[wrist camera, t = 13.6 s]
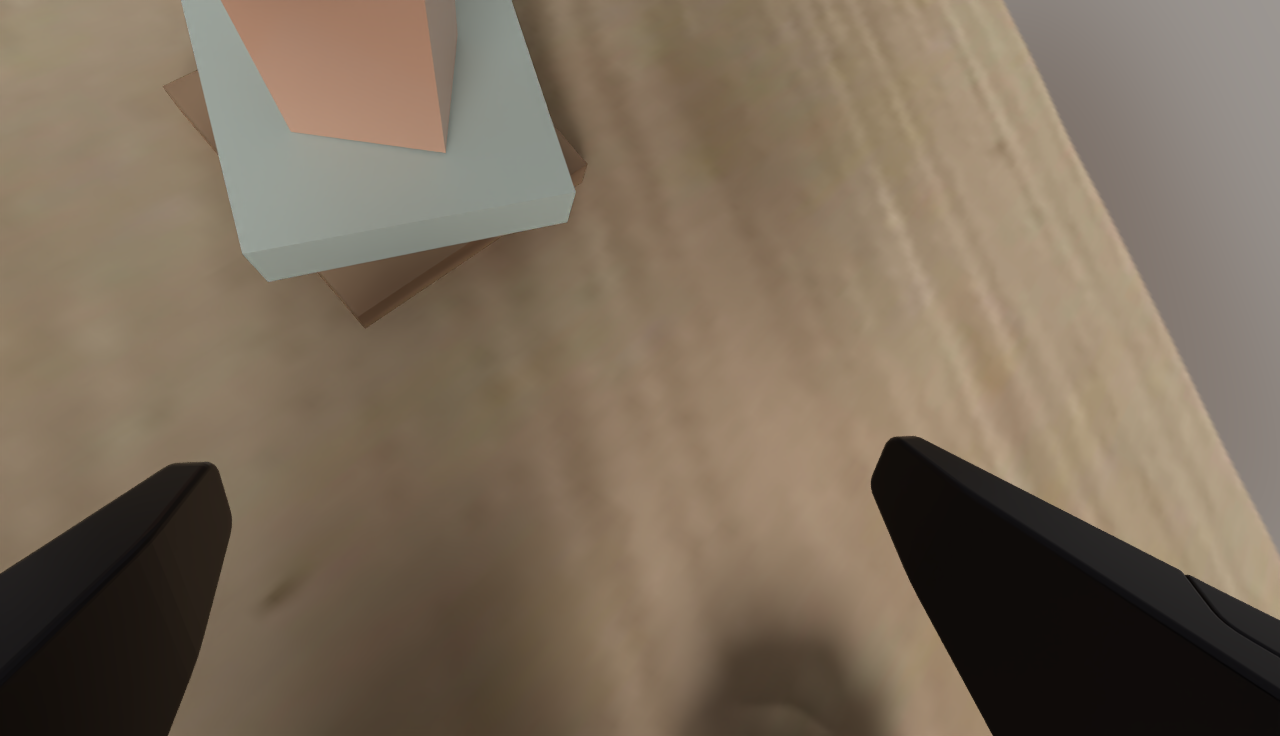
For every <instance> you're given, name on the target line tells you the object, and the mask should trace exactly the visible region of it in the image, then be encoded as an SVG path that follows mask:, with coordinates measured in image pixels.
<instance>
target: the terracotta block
mask: <svg viewBox="0 0 1280 736" xmlns="http://www.w3.org/2000/svg"><path fill="white" fill-rule="evenodd" d="M221 2H222V4H223V5H224V7H225V9H226V11H227V13H228V15H229V17H230V19H231V20H232V22H233V24H234V26H235V28H236V30H237V32H238V34H239V35H240V37H241V39H242V41H243V43H244V45H245V47H246V49H247V50H248V52H249V54H250V56H251V58H252V60H253V62H254V64H255V65H256V67H257V69H258V71H259V73H260V75H261V77H262V79H263V81H264V82H265V84H266V86H267V88H268V90H269V92H270V94H271V96H272V97H273V99H274V101H275V103H276V105H277V107H278V109H279V111H280V112H281V114H282V116H283V118H284V120H285V122H286V124H287V126H288V127H289V129H290V131H291V132H296V133H303V134H310V135H317V136H325V137H332V138H339V139H347V140H354V141H361V142H369V143H376V144H383V145H390V146H398V147H405V148H412V149H420V150H427V151H434V152H442V153H446V145H447V135H448V126H449V116H450V106H451V96H452V86H453V77H454V67H455V57H456V47H457V38H458V31H457V18H456V5H455V0H221Z"/></svg>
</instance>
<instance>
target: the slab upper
mask: <svg viewBox="0 0 1280 736" xmlns="http://www.w3.org/2000/svg"><path fill="white" fill-rule="evenodd" d="M181 2H182V6H183V10H184V14H185V19H186V23H187V27H188V31H189V35H190V39H191V43H192V48H193V52H194V56H195V60H196V64H197V68H198V72H199V76H200V81H201V85H202V89H203V93H204V97H205V101H206V105H207V110H208V114H209V118H210V122H211V126H212V130H213V134H214V139H215V143H216V147H217V151H218V155H219V159H220V163H221V167H222V172H223V176H224V180H225V184H226V188H227V192H228V196H229V201H230V205H231V209H232V213H233V217H234V221H235V225H236V230H237V234H238V238H239V242H240V246H241V250H242V254H243V255H244V256H245V257H246V258H247V260H248V261H249V262H250V263H251V264H252V265H253V266H254V267H255V268H256V269H257V270H258V271H259V273H260V274H261V275H262V276H263V277H264V278H265V279H266V280H267V281H268V282H271V281H276V280H281V279H286V278H291V277H296V276H301V275H306V274H311V273H316V272H321V271H326V270H331V269H336V268H341V267H346V266H351V265H356V264H361V263H366V262H371V261H376V260H381V259H386V258H391V257H396V256H401V255H406V254H411V253H416V252H421V251H426V250H431V249H436V248H441V247H446V246H451V245H456V244H461V243H466V242H471V241H476V240H481V239H486V238H491V237H496V236H501V235H506V234H511V233H516V232H521V231H526V230H531V229H536V228H541V227H546V226H551V225H556V224H561V223H566V222H567V221H568V218H569V214H570V211H571V207H572V204H573V200H574V197H575V193H576V191H575V189H574V186H573V183H572V180H571V177H570V174H569V171H568V168H567V165H566V162H565V159H564V156H563V153H562V150H561V147H560V144H559V141H558V138H557V135H556V132H555V129H554V126H553V123H552V120H551V117H550V114H549V111H548V108H547V105H546V102H545V99H544V96H543V93H542V90H541V87H540V84H539V81H538V78H537V75H536V72H535V69H534V66H533V63H532V60H531V57H530V54H529V51H528V48H527V45H526V42H525V39H524V36H523V33H522V30H521V27H520V24H519V21H518V18H517V15H516V13H515V10H514V7H513V4H512V1H511V0H455V5H456V18H457V31H458V38H457V47H456V57H455V67H454V77H453V86H452V96H451V106H450V116H449V126H448V135H447V145H446V153H442V152H434V151H427V150H420V149H412V148H405V147H398V146H390V145H383V144H376V143H369V142H361V141H354V140H347V139H339V138H332V137H325V136H317V135H310V134H303V133H296V132H291V131H290V129H289V127H288V126H287V124H286V122H285V120H284V118H283V116H282V114H281V112H280V111H279V109H278V107H277V105H276V103H275V101H274V99H273V97H272V96H271V94H270V92H269V90H268V88H267V86H266V84H265V82H264V81H263V79H262V77H261V75H260V73H259V71H258V69H257V67H256V65H255V64H254V62H253V60H252V58H251V56H250V54H249V52H248V50H247V49H246V47H245V45H244V43H243V41H242V39H241V37H240V35H239V34H238V32H237V30H236V28H235V26H234V24H233V22H232V20H231V19H230V17H229V15H228V13H227V11H226V9H225V7H224V5H223V4H222V2H221V0H181Z"/></svg>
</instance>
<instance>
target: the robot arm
mask: <svg viewBox="0 0 1280 736" xmlns="http://www.w3.org/2000/svg"><path fill="white" fill-rule="evenodd" d="M871 490H872V494H873V496H874V499H875V501H876V503H877V506H878V508H879V510H880V513H881V515H882V517H883V520H884V522H885V525H886V527H887V529H888V532H889V534H890V536H891V539H892V541H893V543H894V546H895V548H896V551H897V553H898V555H899V558H900V560H901V562H902V565H903V567H904V569H905V572H906V574H907V576H908V578H909V580H910V582H911V584H912V586H913V588H914V590H915V592H916V594H917V596H918V598H919V600H920V602H921V604H922V605H923V607H924V609H925V611H926V613H927V615H928V617H929V618H930V620H931V622H932V624H933V626H934V628H935V630H936V631H937V633H938V635H939V637H940V639H941V641H942V643H943V644H944V646H945V648H946V650H947V652H948V654H949V655H950V657H951V659H952V661H953V663H954V665H955V667H956V668H957V670H958V672H959V674H960V676H961V678H962V680H963V681H964V683H965V685H966V687H967V689H968V691H969V692H970V694H971V696H972V698H973V700H974V702H975V704H976V705H977V707H978V709H979V711H980V713H981V715H982V717H983V718H984V720H985V722H986V724H987V726H988V728H989V729H990V731H991V733H992V735H993V736H1280V620H1278V619H1276V618H1274V617H1272V616H1270V615H1268V614H1266V613H1264V612H1262V611H1260V610H1258V609H1256V608H1254V607H1252V606H1250V605H1248V604H1246V603H1244V602H1242V601H1240V600H1238V599H1236V598H1234V597H1232V596H1230V595H1228V594H1226V593H1224V592H1222V591H1220V590H1218V589H1216V588H1214V587H1212V586H1210V585H1208V584H1206V583H1204V582H1202V581H1200V580H1198V579H1196V578H1194V577H1193V576H1190V575H1184V574H1183V572H1182V571H1180V570H1179V569H1177V568H1175V567H1173V566H1171V565H1169V564H1167V563H1165V562H1163V561H1161V560H1159V559H1157V558H1155V557H1153V556H1151V555H1149V554H1147V553H1145V552H1143V551H1141V550H1139V549H1137V548H1135V547H1134V546H1132V545H1130V544H1128V543H1126V542H1124V541H1122V540H1120V539H1118V538H1116V537H1114V536H1112V535H1110V534H1108V533H1106V532H1104V531H1102V530H1100V529H1098V528H1096V527H1094V526H1092V525H1090V524H1088V523H1087V522H1085V521H1083V520H1081V519H1079V518H1077V517H1075V516H1073V515H1071V514H1069V513H1067V512H1065V511H1063V510H1061V509H1059V508H1057V507H1055V506H1053V505H1051V504H1049V503H1047V502H1045V501H1043V500H1042V499H1040V498H1038V497H1036V496H1034V495H1032V494H1030V493H1028V492H1026V491H1024V490H1022V489H1020V488H1018V487H1016V486H1014V485H1012V484H1010V483H1008V482H1006V481H1004V480H1002V479H1000V478H998V477H997V476H995V475H993V474H991V473H989V472H987V471H985V470H983V469H981V468H979V467H977V466H975V465H973V464H971V463H969V462H967V461H965V460H963V459H961V458H959V457H957V456H955V455H953V454H951V453H950V452H948V451H946V450H944V449H942V448H940V447H938V446H936V445H934V444H932V443H930V442H928V441H926V440H924V439H922V438H920V437H916V436H900V437H893V438H891V439H890V440H889V441H887V443H886V444H885V447H884V449H883V451H882V454H881V456H880V458H879V461H878V463H877V465H876V468H875V470H874V472H873V475H872V478H871ZM231 528H232V516H231V511H230V507H229V504H228V500H227V497H226V494H225V490H224V487H223V484H222V480H221V477H220V473H219V471H218V469H217V467H216V466H215V465H214V464H212V463H210V462H187V463H174V464H170V465H168V466H166V467H165V468H163V469H161V470H160V471H158V472H157V473H155V474H154V475H152V476H151V477H149V478H147V479H146V480H144V481H143V482H141V483H140V484H138V485H137V486H135V487H134V488H132V489H130V490H129V491H127V492H126V493H124V494H123V495H121V496H120V497H118V498H117V499H115V500H113V501H112V502H110V503H109V504H107V505H106V506H104V507H103V508H101V509H100V510H98V511H96V512H95V513H93V514H92V515H90V516H89V517H87V518H86V519H84V520H83V521H81V522H79V523H78V524H76V525H75V526H73V527H72V528H70V529H69V530H67V531H66V532H64V533H62V534H61V535H59V536H58V537H56V538H55V539H53V540H52V541H50V542H49V543H47V544H46V545H44V546H42V547H41V548H39V549H38V550H36V551H35V552H33V553H32V554H30V555H29V556H27V557H25V558H24V559H22V560H21V561H19V562H18V563H16V564H15V565H13V566H12V567H10V568H8V569H7V570H5V571H4V572H2V573H1V574H0V736H168V734H169V731H170V729H171V726H172V724H173V721H174V718H175V716H176V713H177V711H178V708H179V706H180V703H181V701H182V698H183V696H184V693H185V690H186V688H187V685H188V683H189V680H190V678H191V675H192V672H193V669H194V666H195V664H196V661H197V658H198V655H199V652H200V648H201V645H202V641H203V638H204V634H205V630H206V626H207V623H208V619H209V615H210V611H211V607H212V603H213V599H214V596H215V592H216V588H217V584H218V580H219V576H220V573H221V569H222V565H223V561H224V557H225V553H226V549H227V546H228V542H229V538H230V534H231Z"/></svg>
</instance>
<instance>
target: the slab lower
mask: <svg viewBox="0 0 1280 736" xmlns="http://www.w3.org/2000/svg"><path fill="white" fill-rule="evenodd" d="M162 87H163V88H164V89H165V91H166V92H167V93H168V95H169V96H170V97H171V99H172V100H173V101H174V103H175V104H176V105H177V107H178V108H179V109H180V110H181V112H182V113H183V114H184V115H185V116H186V118H187V119H188V120H189V121H190V122H191V124H192V125H193V126H194V127H195V128H196V129H197V131H198V132H199V133H200V134H201V135H202V137H203V138H204V139H205V140H206V141H207V142H208V144H209V145H210V146H211V147H212V148H213V150H214V151H215V152H216V153H217V154H218V151H217V147H216V143H215V139H214V134H213V130H212V126H211V122H210V118H209V114H208V110H207V105H206V101H205V97H204V93H203V89H202V85H201V81H200V76H199V72H198V70H196V71H194V72H192V73H190V74H188V75H186V76H183V77H181V78H179V79H177V80H175V81H173V82H171V83H168V84H166V85H164V86H162ZM553 126H554V125H553ZM554 129H555V132H556V135H557V138H558V141H559V144H560V147H561V150H562V153H563V156H564V159H565V162H566V165H567V168H568V171H569V174H570V177H571V180H572V183H573V186H574V187H576V186H577V185H579V184H580V183H582V181H583V177H584V174H585V170H586V167H587V163H586V162H585V161H584V159H583V158H582V157H581V156H580V155H579V154H578V152H577V151H576V150H575V149H574V148H573V147H572V145H571V144H570V143H569V142H568V141H567V140H566V138H565V137H564V136H563V135H562V134H561V133H560V131H559V130H558V129H557V128H556V127H555V126H554ZM502 236H503V235H501V236H496V237H491V238H486V239H481V240H476V241H471V242H466V243H461V244H456V245H451V246H446V247H441V248H436V249H431V250H426V251H421V252H416V253H411V254H406V255H401V256H396V257H391V258H386V259H381V260H376V261H371V262H366V263H361V264H356V265H351V266H346V267H341V268H336V269H331V270H326V271H321V272H318V274H319V275H320V276H321V277H322V278H323V279H324V281H325V282H326V283H327V284H328V285H329V287H330V288H331V289H332V290H333V291H334V292H335V294H336V295H337V296H338V297H339V298H340V300H341V301H342V302H343V303H344V304H345V305H346V307H347V308H348V309H349V310H350V311H351V313H352V314H353V315H354V316H355V317H356V318H357V320H358V321H359V322H360V323H361V324H362V326H363V327H364V328H367V327H368V326H370V325H371V324H373V323H374V322H376V321H377V320H379V319H380V318H382V317H383V316H385V315H386V314H388V313H389V312H391V311H392V310H394V309H395V308H396V307H398V306H399V305H401V304H402V303H404V302H405V301H407V300H408V299H410V298H411V297H413V296H414V295H416V294H417V293H419V292H420V291H422V290H423V289H425V288H426V287H428V286H429V285H431V284H432V283H433V282H435V281H436V280H438V279H439V278H441V277H442V276H444V275H445V274H447V273H448V272H450V271H451V270H453V269H454V268H456V267H457V266H459V265H460V264H462V263H463V262H465V261H466V260H468V259H469V258H471V257H472V256H473V255H475V254H476V253H478V252H479V251H481V250H482V249H484V248H485V247H487V246H488V245H490V244H491V243H493V242H494V241H496V240H497V239H499V238H500V237H502Z"/></svg>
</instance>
